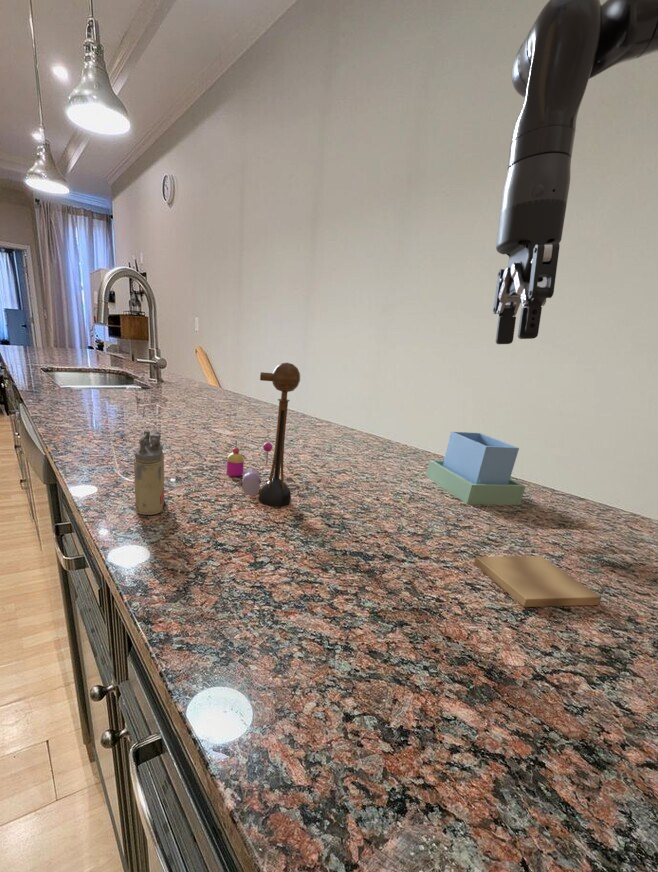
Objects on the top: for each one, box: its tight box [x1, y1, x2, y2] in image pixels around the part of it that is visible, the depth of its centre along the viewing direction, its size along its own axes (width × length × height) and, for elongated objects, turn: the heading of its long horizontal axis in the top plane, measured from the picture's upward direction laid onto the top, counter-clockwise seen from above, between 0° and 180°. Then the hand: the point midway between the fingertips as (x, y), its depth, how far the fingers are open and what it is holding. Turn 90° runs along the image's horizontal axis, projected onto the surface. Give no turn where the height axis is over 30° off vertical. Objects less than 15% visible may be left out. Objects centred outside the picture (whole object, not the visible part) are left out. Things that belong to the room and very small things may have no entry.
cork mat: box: [473, 555, 602, 608], centre depth 50 cm, size 9×9×1 cm
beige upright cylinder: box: [133, 430, 166, 516], centre depth 60 cm, size 7×4×10 cm, turn 8°
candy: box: [226, 439, 273, 497], centre depth 76 cm, size 18×8×6 cm, turn 2°
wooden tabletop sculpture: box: [258, 362, 301, 508], centre depth 63 cm, size 6×5×20 cm
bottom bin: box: [425, 459, 527, 506], centre depth 74 cm, size 9×13×5 cm
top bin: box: [443, 431, 520, 485], centre depth 73 cm, size 6×10×10 cm, turn 10°
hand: (514, 341), depth 62 cm, fingers open, 8 cm apart
